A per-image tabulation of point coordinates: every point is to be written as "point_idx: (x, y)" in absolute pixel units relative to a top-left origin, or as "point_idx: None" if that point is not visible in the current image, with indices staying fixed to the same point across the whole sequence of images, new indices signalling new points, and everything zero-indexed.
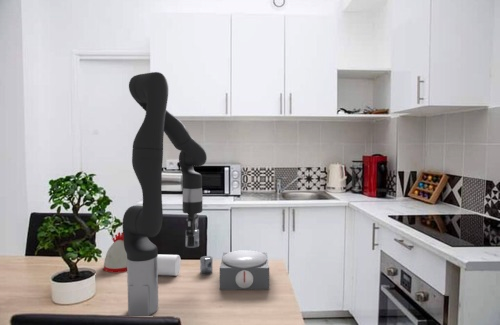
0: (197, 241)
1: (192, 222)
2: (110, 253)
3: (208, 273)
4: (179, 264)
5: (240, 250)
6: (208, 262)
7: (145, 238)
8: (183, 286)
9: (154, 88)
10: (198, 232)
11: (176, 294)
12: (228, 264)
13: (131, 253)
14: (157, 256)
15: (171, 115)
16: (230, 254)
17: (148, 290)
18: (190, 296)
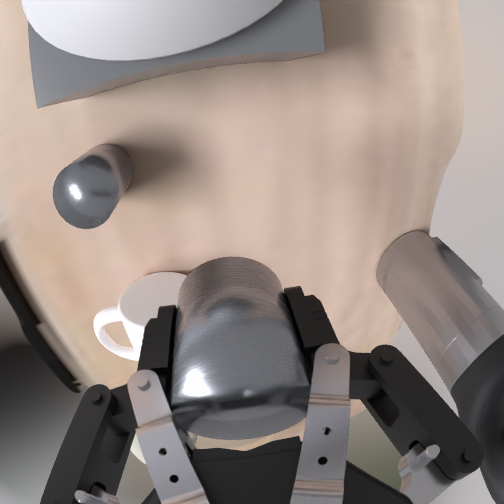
0: (258, 289)
1: (482, 449)
2: None
3: (125, 154)
4: (138, 294)
5: (23, 6)
6: (109, 170)
7: (494, 413)
8: (267, 213)
9: None
10: (253, 356)
11: (333, 214)
12: (281, 2)
13: None
14: (501, 332)
15: None
16: (100, 25)
17: (475, 273)
18: (348, 163)
